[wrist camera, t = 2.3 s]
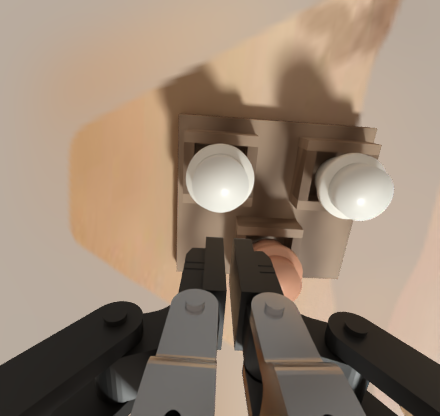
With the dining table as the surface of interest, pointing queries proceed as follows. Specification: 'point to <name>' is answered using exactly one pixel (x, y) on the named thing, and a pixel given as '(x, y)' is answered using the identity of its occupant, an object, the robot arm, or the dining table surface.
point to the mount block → (271, 188)
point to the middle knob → (283, 266)
